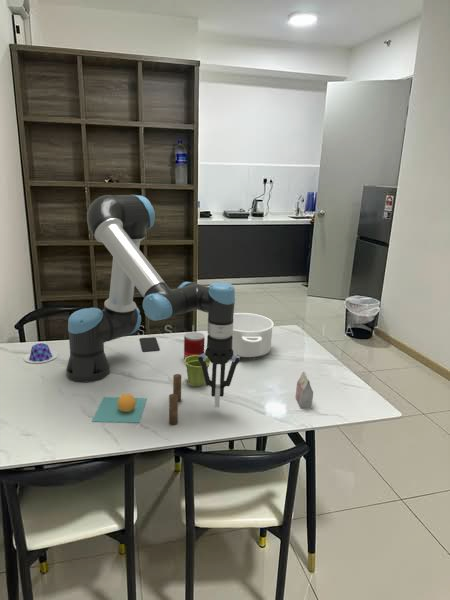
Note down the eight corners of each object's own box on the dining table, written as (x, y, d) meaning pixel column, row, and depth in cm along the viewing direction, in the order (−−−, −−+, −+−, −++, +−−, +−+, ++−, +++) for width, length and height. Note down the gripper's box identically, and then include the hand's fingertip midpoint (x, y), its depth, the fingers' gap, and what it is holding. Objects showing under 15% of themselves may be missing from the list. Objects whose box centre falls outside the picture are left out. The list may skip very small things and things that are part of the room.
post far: (172, 402, 135) (172, 377, 132) (173, 398, 137) (173, 373, 134) (180, 402, 135) (181, 377, 132) (181, 398, 137) (181, 374, 135)
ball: (115, 399, 124) (134, 399, 125) (119, 390, 130) (137, 390, 130) (115, 415, 126) (134, 415, 126) (119, 406, 131) (137, 406, 131)
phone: (155, 337, 187) (160, 349, 173) (155, 338, 187) (160, 351, 173) (139, 338, 185) (142, 351, 171) (139, 339, 185) (142, 353, 171)
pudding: (23, 366, 155) (22, 353, 153) (24, 354, 165) (23, 341, 164) (58, 362, 160) (57, 349, 158) (56, 350, 170) (55, 338, 168)
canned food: (203, 365, 162) (203, 339, 158) (182, 364, 162) (183, 338, 159) (204, 357, 169) (205, 332, 166) (184, 356, 169) (185, 331, 166)
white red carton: (306, 398, 141) (309, 371, 138) (311, 408, 135) (314, 381, 132) (295, 397, 141) (298, 371, 138) (300, 408, 135) (303, 381, 132)
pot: (212, 337, 191) (214, 309, 187) (262, 336, 194) (264, 309, 190) (222, 369, 159) (223, 336, 155) (281, 368, 163) (284, 335, 159)
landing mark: (91, 421, 122) (91, 421, 122) (104, 397, 136) (103, 396, 136) (139, 423, 123) (139, 422, 123) (146, 398, 136) (146, 398, 136)
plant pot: (213, 379, 151) (214, 357, 149) (204, 391, 143) (204, 368, 140) (190, 374, 154) (190, 353, 151) (179, 386, 145) (179, 363, 143)
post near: (168, 424, 122) (168, 398, 120) (169, 419, 125) (169, 393, 122) (177, 425, 123) (177, 398, 120) (178, 420, 125) (178, 393, 122)
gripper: (197, 338, 119) (195, 410, 126) (242, 340, 119) (238, 412, 126) (198, 329, 126) (196, 398, 133) (241, 331, 127) (237, 399, 133)
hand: (216, 404), depth 130 cm, fingers closed
